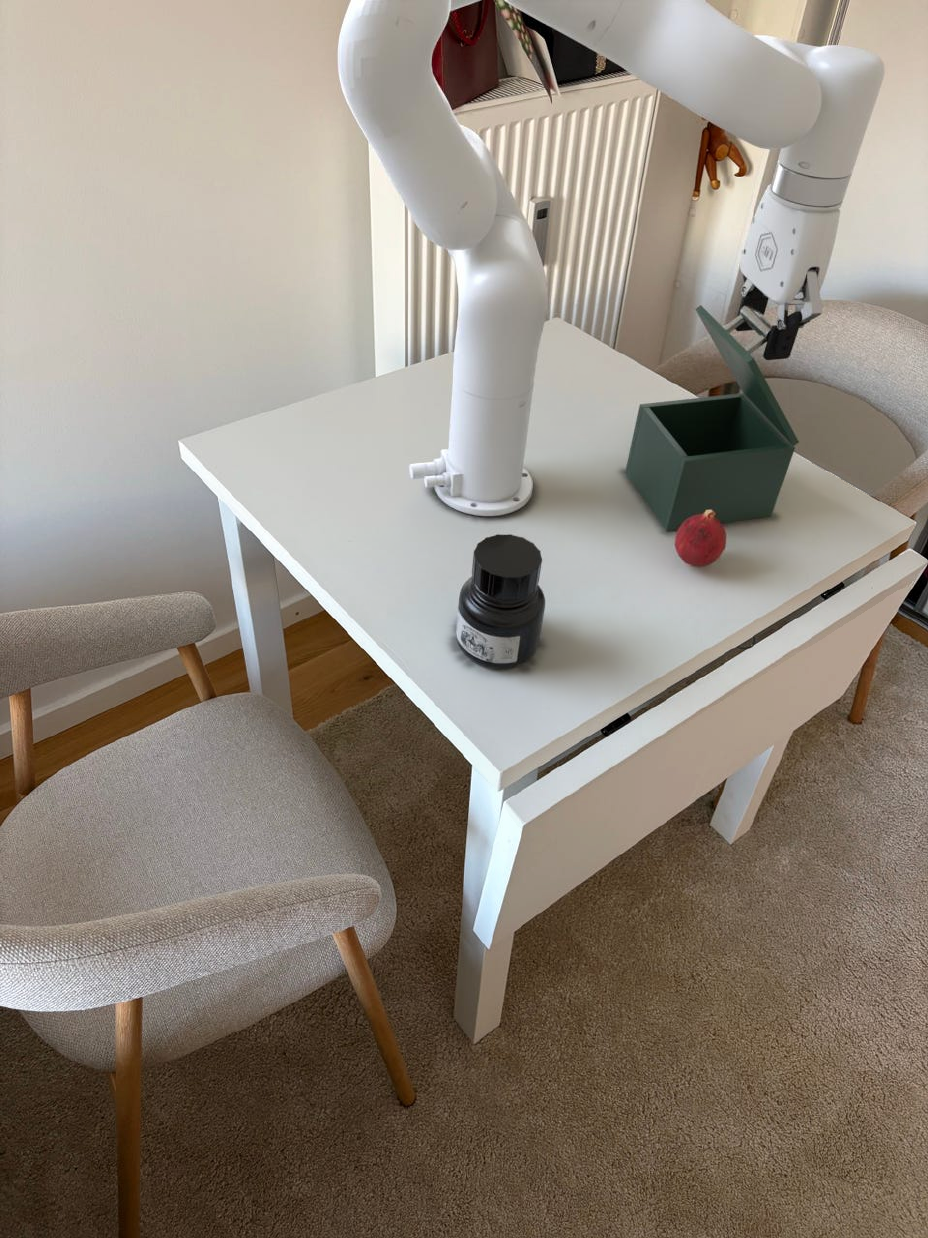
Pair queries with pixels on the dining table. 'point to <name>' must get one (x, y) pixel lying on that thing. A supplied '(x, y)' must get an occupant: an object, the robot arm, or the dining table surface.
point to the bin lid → (748, 363)
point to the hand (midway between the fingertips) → (761, 342)
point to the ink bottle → (501, 603)
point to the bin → (707, 459)
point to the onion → (700, 539)
